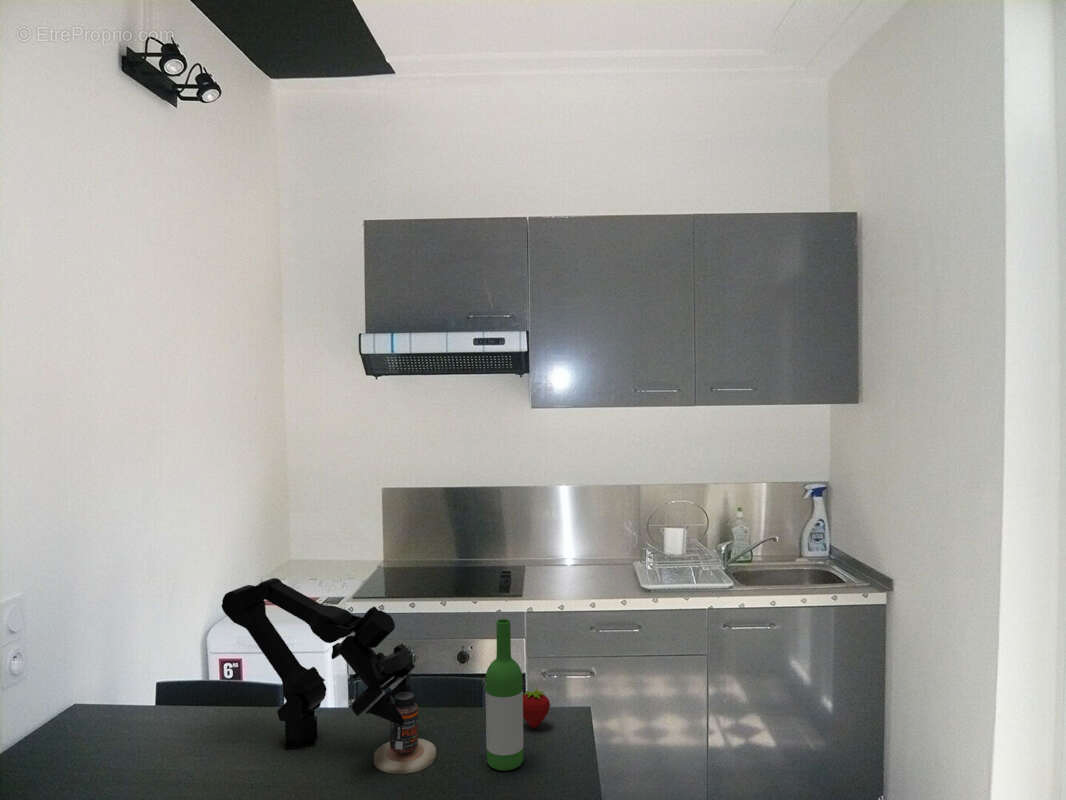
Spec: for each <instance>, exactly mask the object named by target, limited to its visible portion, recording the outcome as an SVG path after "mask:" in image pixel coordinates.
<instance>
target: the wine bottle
mask: <svg viewBox="0 0 1066 800" xmlns="http://www.w3.org/2000/svg"><path fill="white" fill-rule="evenodd" d="M495 626H496V657H495V659H494V660H492V662H491V663H490V664H489V666H488V667H487V670H486V673H485V728H486V729H485V730H486V731H485V733H486V734H485V737H486V739H485V740H486V741H485V742H486V744H485V746H486V762H487V764H488V766H489V767H491V768H492V769H495V770H497V771H512V770H514V769H517V768H518V767H520V766H521V765H522V763H523V760H524V718H523V695H524V694H523V693H524V691H523V690H524V689H523V672H522V670H521V669H522V668H521V667H520V665H519V664H518V662H517V661H516V660H514V659H513V657H512V646H511V645H512V644H511V643H512V640H511V639H512V638H511V637H512V636H511V633H512V632H511V620H510V619H508V618H499V619H497V620H496V625H495Z"/></svg>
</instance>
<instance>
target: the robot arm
mask: <svg viewBox="0 0 1066 800" xmlns="http://www.w3.org/2000/svg"><path fill="white" fill-rule="evenodd" d="M266 601H267V602H270V603H271V604H273V605H275V606H276V607H278V608H279V609H282V610H283V611H285V612H286V613H288V614H289V615H292V616H294V617H296V618H297V619H299V620H301V621H303V622H305V624H307V625H308V626H309V628H310V630H311V631H312V633H313V634H314V635H315V636H317V638H319V639H320V640H322V642H324V643H327V644H331V643H335V642H337V641H339V640H340V639H343V640H342V641H341V642H337V643H335V644H334V645H332V652H331V659H332V660H335V659H337V658H338V657H339V656H341V657H342V658H343V660H345V662H346V663H347V664H348V666H349V667H350V669H351V670H352V671H353V672H354V674H353V675H352V678H353V679H354V680H355V681H356V680H358V679H360V681H361V682H362V683H363V684H364V686H365V687H366V689H364V691H363V692H362V693H361V694H359V696H357V698H356V699H355V700H353V702H351V711H352V712H353V713H354V714H355V715H356V717H358V716H360V715H362V714H363V713H364V712H365V711H366V712H365V714H367V715H368V714H371V715H374V716H377V717H379V718H382V719H384V720H387V721H389V722H390V721H391V722H393V723H396V724H398V725H400V726H402V725H403V724H404V720H403V718H402V716H401V715H400V713H399V712H398V711H397V709H396V708H395V706H394V705H393V704H394V702H392V700H391V697H392V698H393V699H395V695H396V694H398V693H400V692H410V693H412V690H411V687H410V680H411V677H412V673H411V672H412V671H413V670H414V669H415V668H416V665H415V664H414V663H413V662H412V660H410V655H411V653H412V651H411V650H409V649H408V648H407V646H406V645H404V643H400V644H398V645H396V646H394V647H393V652H391V653H390V654H389V655H386V654H384V652H380V651H379V652H378V653H376V651H375V650H374V649H375V648H378V647H379V645H381V644H382V642H383V641H384V640H385V639H386V638H387V637H388V636H390V634H392V633H393V631H394V630H395V628H396V624H395V621H394V618H393V617H392V616H391V614H389V613H387V612H386V611H384V610H381V609H380V610H379V609H378V608H377V607H376V606H373V607H370V608H369V609H368V610H367V611H366V612H365V614H364V615H363V617H362V616H358V615H355V614H352V613H351V612H350V611H348V610H347V609H345V608H342V607H338V606H336V605H328V604H322V603H319V602H318V601H316V600H314V599H313V598H311V597H309V596H307V595H305V594H303V593H302V592H299V591H298V590H296V589H294V588H293V587H291V586H289V585H287V584H285V583H284V582H282V580H281V579H279V578H276V577H272V578H269V579H267V580H264V581H262V582H259V584H256V585H252V584H251V585H250V584H247V585H244V586H241V587H239V588H238V587H237V588H236V589H234V590H230V591H228V592H227V593H225V594H224V595H223V598H222V602H221V603H222V604H221V609H222V611H223V613H224V614H225V615H226V616H227V617H228V618H229V619H230V621H232V622H233V623H234V624H236V625H238V626H240V627H242V628H244V629H246V630H247V632H248V633H249V635H250V636H251V638H252V639H253V640H254V642H255V644H256V645H257V646H258V648H259V649H260V651H261V652H262V654H263V655H264V656H265V658H266V659H267V661H268V663H270V666H272V668H273V670H274V672H276V675H278V678H280V681H281V684H282V685H281V686H282V696H283V697H284V699H285V703H283V705H281V707H280V708H278V709H277V711H276V713H277V716H278V719H279V720H278V721H280V722H284V736H285V737H284V739H285V740H284V745H283V746H284V750H291V749H297V748H306V747H312V746H313V747H314V746H315V745H316V740H317V739H318V738H319V735H318V734H319V731H318V730H319V724H318V723H319V722H318V721H319V719H318V715H315V714H316V710H317V709H319V708H321V705H322V702H323V701H324V700H325V698H326V695H327V686H326V683H325V681H326V680H325V679H324V678H323V677H322V676H321V674H320V673H319V671H318V669H317V668H316V667H315V666H312V667H310V668H306V667H304V666H303V665H301V663H300V662H299V660H298V658H297V657H296V656H295V654H294V653H293V651H292V650H291V649H290V648H289V646H288V644H287V643H286V642H285V640H284V639H283V637H282V636H281V634H280V633H279V632H278V631H277V630H278V629H276V627H275V625H273V623H272V622H271V620H270V619H269V617H268V616H267V611H266ZM352 633H354V635H352ZM388 688H390V690H388V691H386V690H387V689H388ZM385 691H386V692H385ZM413 702H414V703H416V701H415V699H414V701H413ZM367 708H368V709H367ZM366 709H367V710H366Z"/></svg>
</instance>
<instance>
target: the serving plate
mask: <svg viewBox="0 0 1066 800" xmlns="http://www.w3.org/2000/svg"><path fill="white" fill-rule="evenodd" d="M436 758H437V749H436V746H435V745H434V743H432V742H430V741H429V740H426V739H423V738H419V737H418V746H417V748H416V749H415V750H414V751H412V752H409V753H403V754H400V753H396V752H393V751H392V750H391V748H390V741H388V742H385V743H383V744H381V746H379V747H378V748H377V749H376V750H375V752H374V753H373V764H374V766H375V767H376V768H377V769H378V770H380V771H381V772H384V773H388V774H393V775H394V774H395V775H405V774H410V773H417V772H419V771H421V770H424V769H427V768H428V767H429V766H430V765H432V764H433V763H434V762H435V760H436Z"/></svg>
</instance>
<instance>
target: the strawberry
mask: <svg viewBox="0 0 1066 800" xmlns="http://www.w3.org/2000/svg"><path fill="white" fill-rule="evenodd" d="M534 686H535V689H534V690H533V691H528V690H525V691H524V692H523V720H525V721H526V722H527V723H528V724H529V726H530V728H532V729H536V728H538V727H539V725H540V724H541V723H542V722H543V721H544V720H545V718H546V717H547V716H548V714H549V711H550V707H551V703H550V699H549V698H548V697H547V696H546V694H544V693H545V692H544V691H541V690H539V688H537V684H536V683H534Z"/></svg>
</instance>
